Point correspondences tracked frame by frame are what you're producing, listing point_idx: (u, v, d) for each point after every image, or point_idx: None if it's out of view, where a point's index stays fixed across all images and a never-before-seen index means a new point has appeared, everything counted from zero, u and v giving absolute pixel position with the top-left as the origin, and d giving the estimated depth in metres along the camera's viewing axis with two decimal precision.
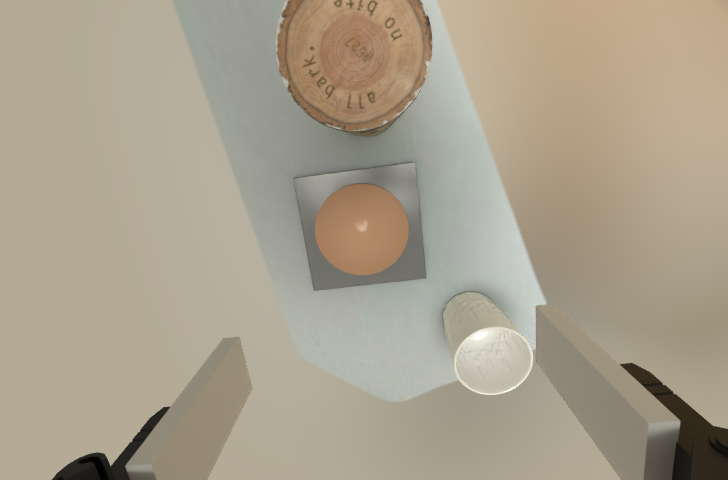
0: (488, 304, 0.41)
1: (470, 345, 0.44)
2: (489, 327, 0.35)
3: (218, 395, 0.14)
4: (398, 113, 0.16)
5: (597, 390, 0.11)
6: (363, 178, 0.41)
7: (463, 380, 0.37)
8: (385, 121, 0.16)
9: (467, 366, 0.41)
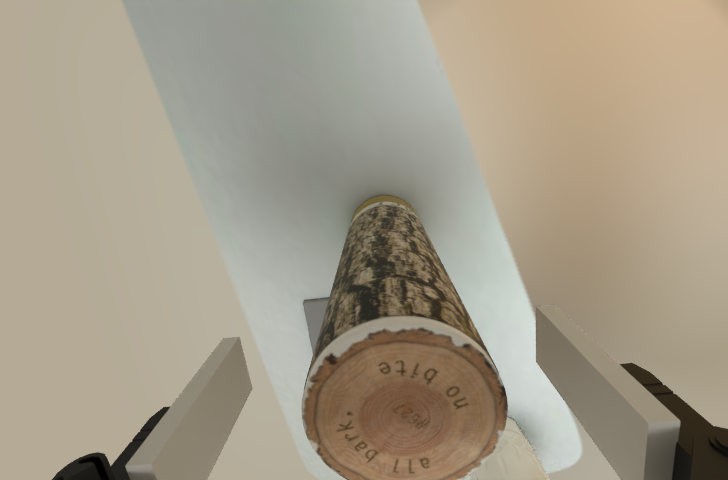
0: (516, 440, 0.38)
1: None
2: None
3: (218, 395, 0.14)
4: (459, 479, 0.13)
5: (597, 390, 0.11)
6: None
7: None
8: None
9: None
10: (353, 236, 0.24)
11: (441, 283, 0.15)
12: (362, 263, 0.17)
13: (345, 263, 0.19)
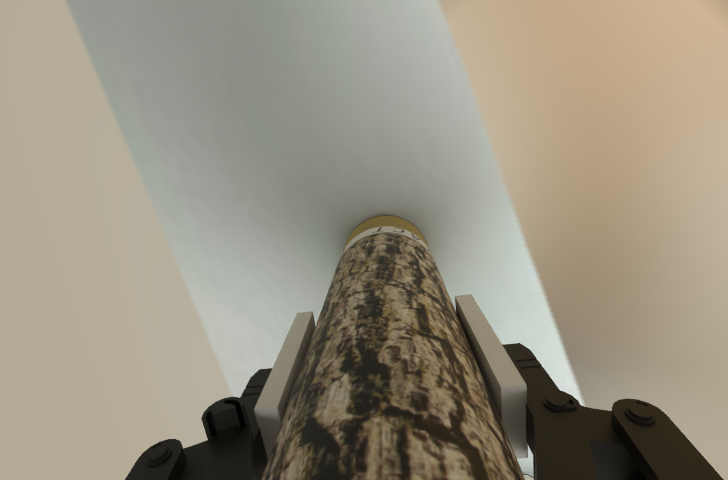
0: None
1: None
2: None
3: None
4: None
5: (482, 365, 0.13)
6: None
7: None
8: None
9: None
10: (338, 283, 0.17)
11: (473, 417, 0.08)
12: (338, 359, 0.10)
13: (317, 341, 0.13)
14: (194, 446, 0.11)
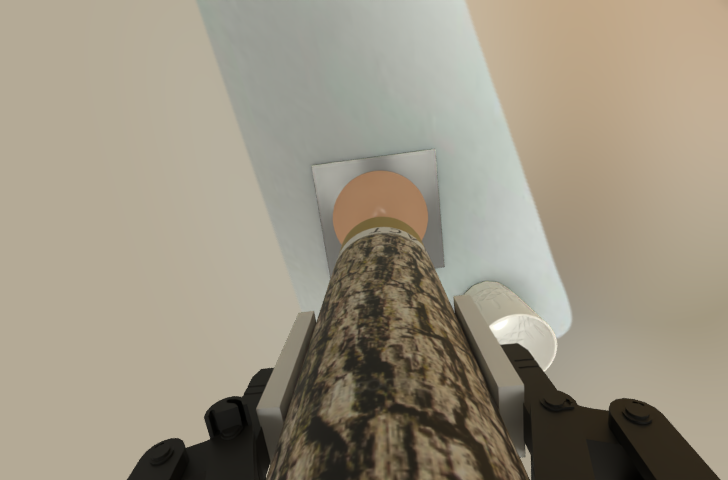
0: (508, 293, 0.41)
1: None
2: (513, 314, 0.35)
3: None
4: None
5: (480, 365, 0.13)
6: (382, 165, 0.41)
7: None
8: None
9: None
10: (337, 284, 0.17)
11: (476, 413, 0.09)
12: (341, 358, 0.10)
13: (318, 341, 0.13)
14: (196, 445, 0.11)
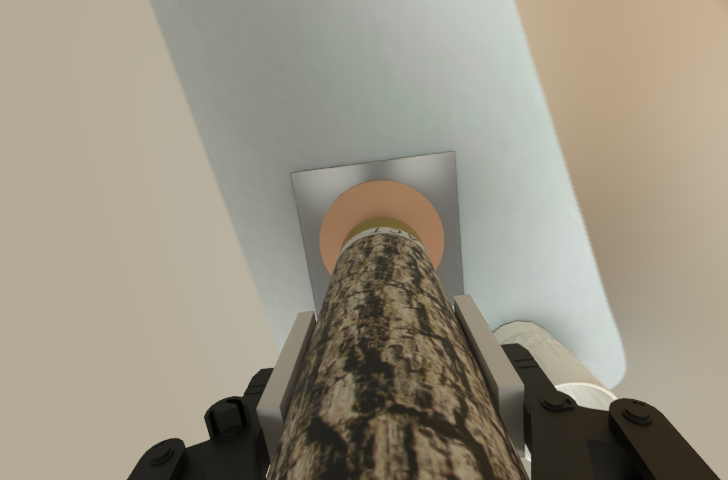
0: (551, 341, 0.31)
1: None
2: (567, 382, 0.25)
3: None
4: None
5: (480, 365, 0.13)
6: (383, 173, 0.31)
7: (525, 452, 0.27)
8: None
9: None
10: (337, 284, 0.17)
11: (476, 414, 0.09)
12: (341, 358, 0.10)
13: (318, 341, 0.13)
14: (196, 445, 0.11)
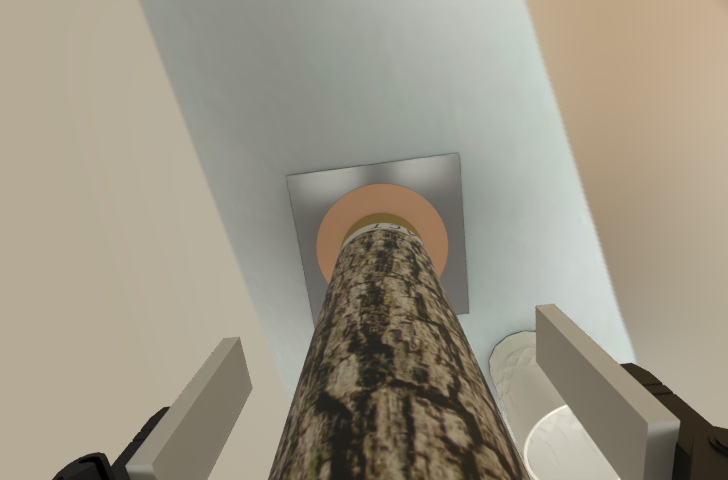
0: None
1: None
2: None
3: (218, 395, 0.14)
4: None
5: (597, 390, 0.11)
6: (384, 176, 0.29)
7: (535, 473, 0.25)
8: None
9: (533, 443, 0.29)
10: (339, 276, 0.18)
11: (468, 389, 0.09)
12: (345, 341, 0.11)
13: (323, 328, 0.14)
14: None
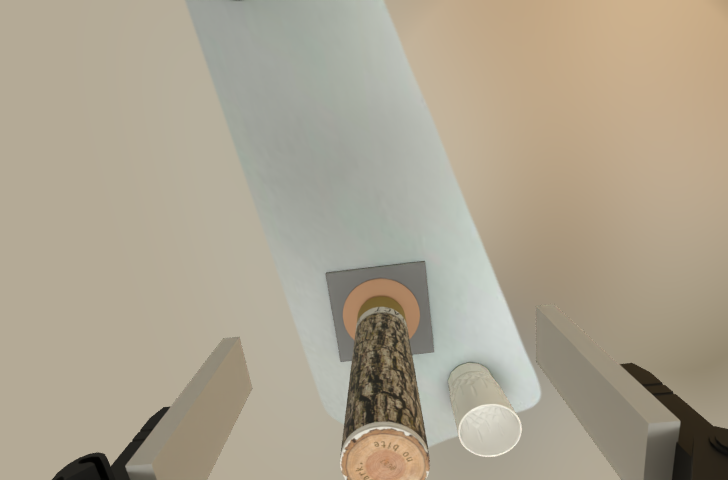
0: (485, 377, 0.50)
1: None
2: (486, 404, 0.44)
3: (218, 395, 0.14)
4: None
5: (597, 390, 0.11)
6: (382, 274, 0.51)
7: (466, 445, 0.46)
8: None
9: (469, 429, 0.50)
10: (360, 344, 0.39)
11: (405, 394, 0.31)
12: (366, 378, 0.33)
13: (357, 371, 0.35)
14: None
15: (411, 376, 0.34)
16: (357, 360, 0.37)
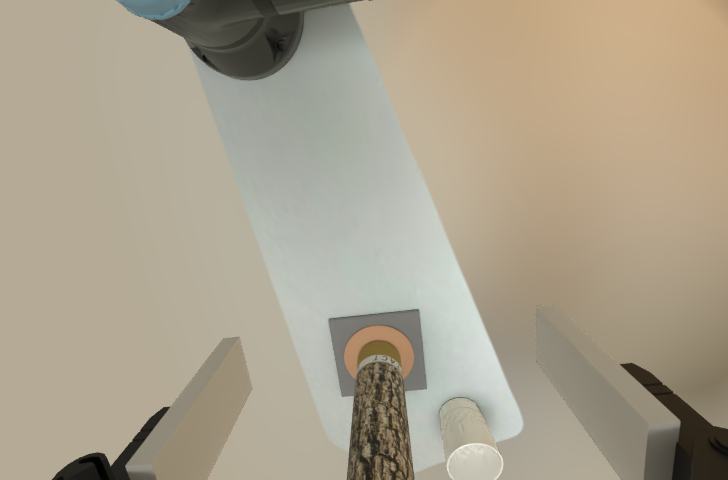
0: (473, 414, 0.56)
1: None
2: (471, 443, 0.50)
3: (218, 395, 0.14)
4: None
5: (597, 390, 0.11)
6: (380, 321, 0.56)
7: (453, 477, 0.52)
8: None
9: (457, 460, 0.55)
10: (360, 396, 0.45)
11: (399, 454, 0.36)
12: (366, 437, 0.38)
13: (357, 427, 0.40)
14: None
15: (404, 432, 0.40)
16: (357, 414, 0.42)
